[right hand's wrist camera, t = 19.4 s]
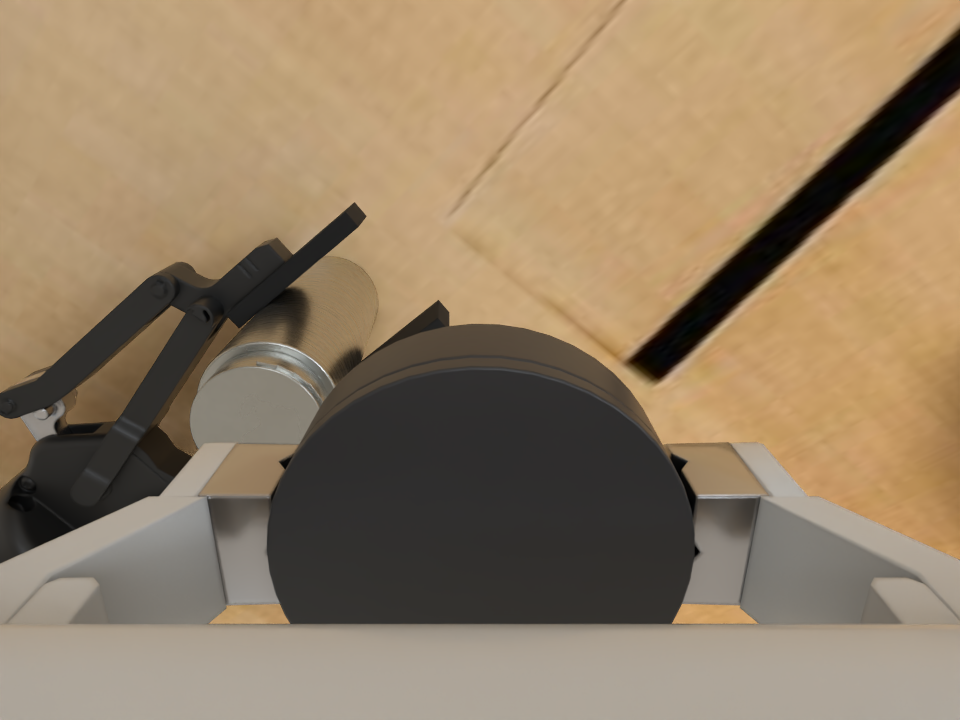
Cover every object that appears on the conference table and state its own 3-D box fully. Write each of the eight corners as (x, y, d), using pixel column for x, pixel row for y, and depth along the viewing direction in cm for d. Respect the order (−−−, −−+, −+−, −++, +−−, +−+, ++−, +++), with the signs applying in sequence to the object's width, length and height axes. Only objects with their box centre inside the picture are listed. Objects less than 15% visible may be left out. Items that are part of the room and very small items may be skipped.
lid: (647, 291, 9) (682, 330, 7) (673, 609, 11) (705, 694, 9) (253, 357, 9) (206, 408, 8) (349, 653, 11) (328, 742, 10)
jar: (370, 351, 35) (322, 503, 21) (281, 333, 35) (174, 479, 21) (385, 267, 34) (344, 373, 20) (293, 247, 33) (185, 343, 19)
